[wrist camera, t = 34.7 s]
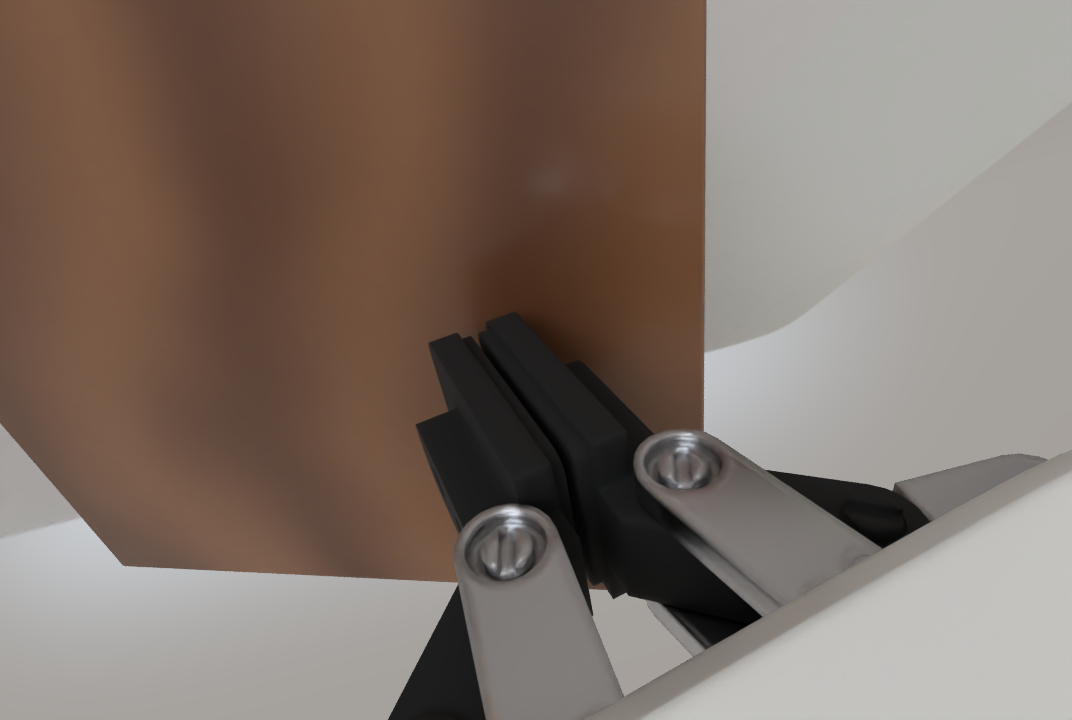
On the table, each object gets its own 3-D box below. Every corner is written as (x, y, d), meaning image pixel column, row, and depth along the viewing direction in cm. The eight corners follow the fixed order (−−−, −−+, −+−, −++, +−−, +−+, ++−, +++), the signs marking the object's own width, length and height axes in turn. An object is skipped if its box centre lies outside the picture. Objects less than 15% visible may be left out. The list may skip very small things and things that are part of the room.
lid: (703, -160, 8) (707, -167, 7) (700, 568, 16) (702, 596, 15) (-270, 42, 11) (-326, 49, 11) (139, 545, 20) (122, 567, 19)
